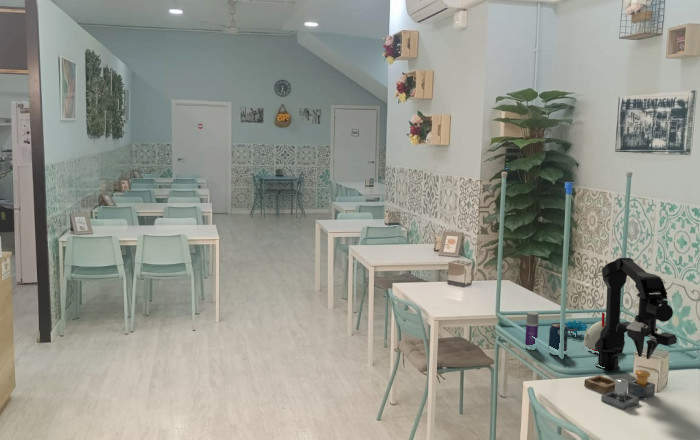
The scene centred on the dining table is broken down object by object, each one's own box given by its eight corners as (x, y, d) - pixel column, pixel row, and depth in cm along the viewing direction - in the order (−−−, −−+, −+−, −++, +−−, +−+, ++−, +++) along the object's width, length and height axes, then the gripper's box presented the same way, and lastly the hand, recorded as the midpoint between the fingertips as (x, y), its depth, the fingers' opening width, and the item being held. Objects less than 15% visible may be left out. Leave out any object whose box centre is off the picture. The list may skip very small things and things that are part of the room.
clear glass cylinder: (611, 401, 222) (613, 379, 221) (618, 398, 224) (619, 377, 223) (621, 405, 219) (623, 383, 218) (628, 402, 221) (630, 381, 220)
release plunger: (631, 385, 228) (632, 371, 228) (639, 382, 231) (640, 369, 230) (644, 389, 225) (645, 375, 224) (651, 386, 227) (652, 373, 227)
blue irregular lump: (588, 330, 294) (586, 319, 286) (588, 342, 290) (587, 331, 283) (561, 330, 298) (559, 319, 290) (562, 342, 294) (559, 331, 287)
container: (528, 350, 271) (530, 314, 268) (522, 347, 275) (524, 311, 273) (539, 350, 272) (541, 314, 270) (532, 346, 276) (534, 311, 274)
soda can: (567, 357, 264) (569, 328, 262) (549, 356, 265) (550, 326, 263) (565, 351, 270) (567, 323, 269) (547, 350, 272) (549, 321, 270)
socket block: (601, 400, 223) (601, 389, 222) (634, 388, 233) (635, 377, 233) (623, 409, 216) (624, 397, 215) (657, 396, 227) (658, 385, 226)
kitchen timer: (618, 346, 278) (621, 311, 276) (619, 357, 265) (622, 320, 263) (583, 342, 283) (585, 307, 281) (582, 352, 270) (585, 316, 268)
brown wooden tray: (584, 385, 235) (584, 379, 235) (598, 381, 240) (599, 374, 239) (605, 394, 228) (605, 387, 228) (619, 388, 233) (620, 382, 233)
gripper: (608, 309, 227) (605, 354, 230) (660, 323, 212) (656, 370, 214) (627, 305, 234) (624, 348, 236) (679, 318, 218) (675, 364, 221)
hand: (643, 357), depth 226 cm, fingers open, 3 cm apart
